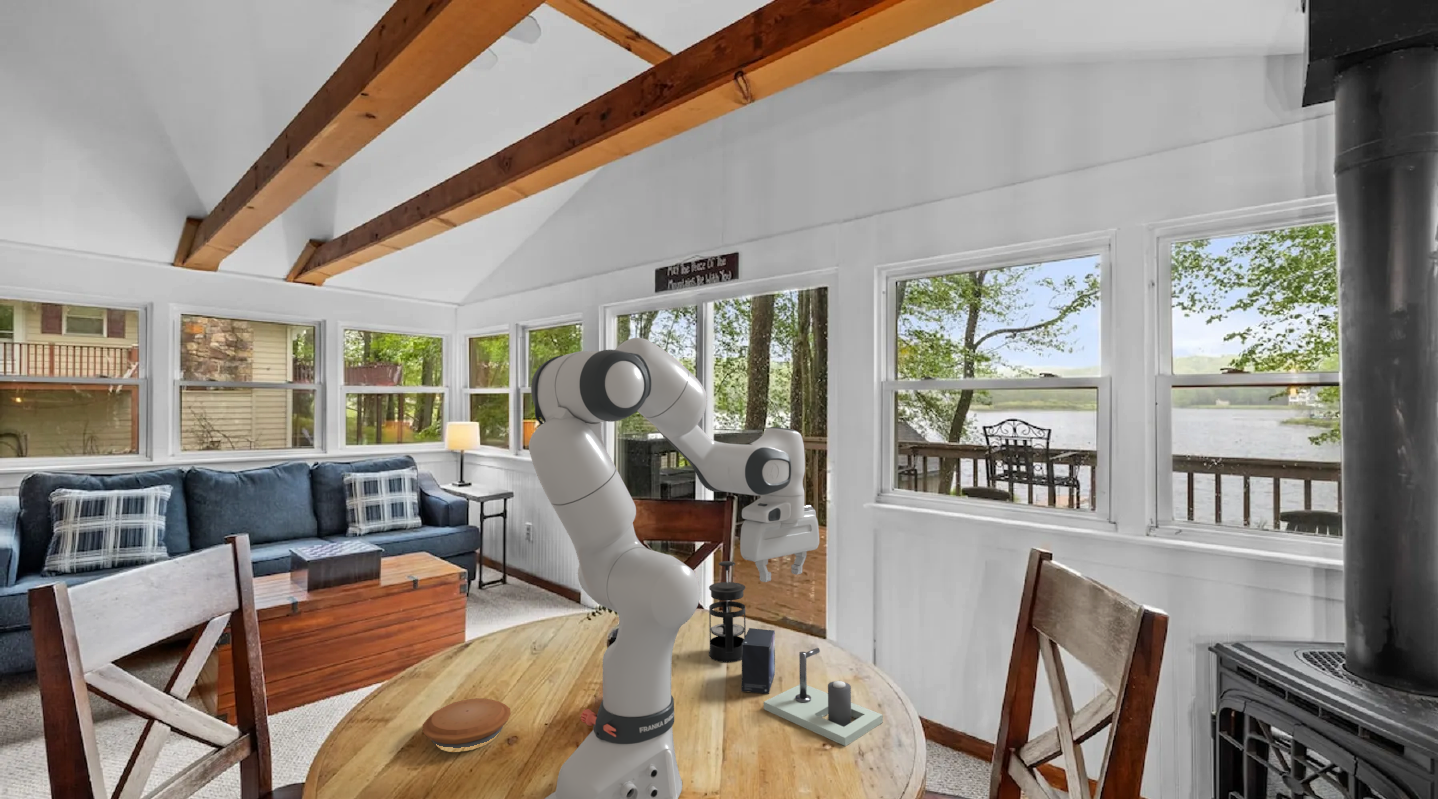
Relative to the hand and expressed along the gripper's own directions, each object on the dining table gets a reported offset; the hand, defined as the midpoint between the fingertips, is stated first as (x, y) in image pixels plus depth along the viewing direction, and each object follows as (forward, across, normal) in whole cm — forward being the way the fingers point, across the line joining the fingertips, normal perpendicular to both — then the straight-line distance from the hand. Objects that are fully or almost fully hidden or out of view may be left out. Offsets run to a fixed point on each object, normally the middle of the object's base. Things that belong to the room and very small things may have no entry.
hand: (781, 577), depth 130 cm
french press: (+27, -14, -29) cm, 42 cm away
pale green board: (+27, -6, +6) cm, 28 cm away
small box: (+27, -8, -13) cm, 31 cm away
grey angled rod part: (+26, -8, +1) cm, 27 cm away
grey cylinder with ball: (+27, -6, +10) cm, 30 cm away
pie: (+29, +48, -35) cm, 67 cm away
